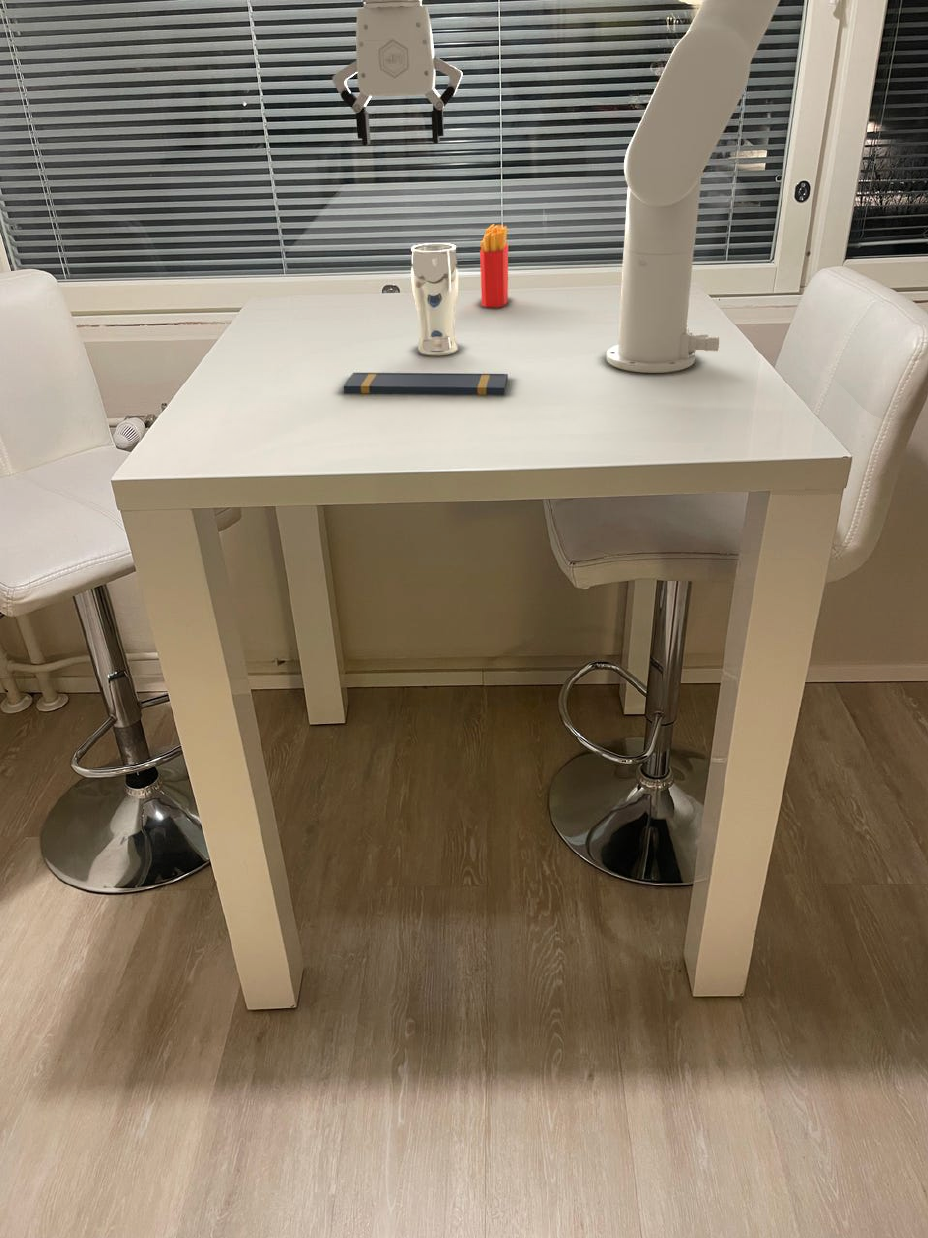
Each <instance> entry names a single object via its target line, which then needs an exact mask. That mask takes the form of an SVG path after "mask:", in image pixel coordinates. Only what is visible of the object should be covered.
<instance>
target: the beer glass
mask: <svg viewBox="0 0 928 1238" xmlns="http://www.w3.org/2000/svg"><path fill="white" fill-rule="evenodd" d="M410 250H411V255H410V256H411V257H410V258H411V259H410V264H411V265H410V276H411V290H412V294H413V299H414V304H415V309H416V313H417V318H418V323H419V338H418V347H417V349H418V350H417V351H418V352H419V353H420V354H422V355H425V356H435V357H436V356H447V355H451V354H454V353H456V352H457V351H458V349H459V346H458V342H457V341H458V340H457V337H456V336H457V335H456V331H455V329H456V328H455V319H456V309H457V303H458V302H457V301H458V294H459V265H458V256H457V255H458V254H457V246H456V245H454V244H451V243H443V242H442V243H439V242H438V243H437V242H436V243H432V242H431V243H423V244H418V245H413V246H412V247H411V248H410Z"/></svg>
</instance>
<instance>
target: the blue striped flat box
mask: <svg viewBox="0 0 928 1238" xmlns="http://www.w3.org/2000/svg"><path fill="white" fill-rule="evenodd" d="M508 381H509V374H508V373H466V372H465V373H463V372H461V373H460V372H459V373H457V372H455V373H453V372H451V373H449V372H442V373H441V372H352V373H351V375H350V376H349V377H348V379H347V380H346V382H345V383H344V385H343V393H344V394H400V395H401V394H405V395H407V394H409V395H411V394H413V395H415V394H416V395H480V396H481V395H483V396H484V395H485V396H486V395H491V396H493V395H495V396H496V395H497V396H499V395H500V396H501V395H502V396H504V395H505V393H506V389H507V385H508Z"/></svg>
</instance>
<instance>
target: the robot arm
mask: <svg viewBox="0 0 928 1238" xmlns="http://www.w3.org/2000/svg"><path fill="white" fill-rule="evenodd" d="M361 2H362V4H363V8H357V12H356V29H355V30H356V31H355V37H356V38H355V45H356V46H355V47H356V49H355V52H356V60H354V61H353V62H352V63H350V64H348V65H347V66H345V67H344V68H343V69H340V71H338V72H337V73H335V74H333V76H332V77H331V80H332V83H333V84H334V87H335V88H336V90H337V92H338V93H339V95H340V97H341V99H342V100H343V102H345V103H346V105H348V106H349V107H350V109H351V110H352V111H353V112H354V113H355V122H356V132H357V133H356V134H357V135H356V136H357V139H358V140H361V143H362V147H367V146H369V145H370V144H371V128H370V115H369V112H368V111H367V105H368V103H369V101H370V100H371V99H372V97H405V96H421V95H425V97H426V98H427V99H428V101H429V102H430V103H431V104H432V110H431V112H430V116H431V135H432V143H433V144H434V145H437V144H439V143H440V137H444V136H445V128H444V127H445V126H444V109H445V106H447V104H448V103H449V102H450V101H451V99H453V97H454V96H455V94H456V92H457V89H458V87H459V85H460V82H461V80H462V77H463V72H462V70H460V69H459V68H457V67H455V66H453V65H451V64H449V63H448V62H446V61H444V60H442V59H441V58H439V57H437V56H435V48H434V39H433V31H432V24H431V17H430V13H429V8H428V6H427V5H423V0H361ZM780 2H781V0H702V1H701V4H700V6H699V8H698V10H697V12H696V14H695V16H694V18H693V20H692V21H691V24H690V26H689V28H688V30H687V32H686V34H684V35H683V37H682V38H680V40H679V41H678V42H677V44H676V45H675V46H674V48H673V51H671V54H670V56H669V58H668V61H667V63H666V65H665V66H664V69H663V71H662V73H661V77H660V78H659V80H658V82H657V85H656V87H655V89H654V91H653V93H652V95H651V96H650V97H651V98H650V100H649V102H648V104H647V106H646V109H645V110H644V113H643V115H642V117H641V119H640V121H639V123H638V126H637V128H636V130H635V132H634V134H633V137H632V138H631V141H630V142H629V145H628V147H627V148H626V149H627V150H626V153H625V156H624V162H623V173H624V178H625V182H626V185H627V195H626V209H625V225H624V237H623V238H624V240H623V252H622V253H623V254H622V268H621V269H622V270H621V287H620V288H621V290H620V305H619V321H618V322H619V323H618V340H617V341H618V342H617V343H618V344H616V345H614V346H612V347H610V348H609V349H608V350H607V352H606V361H607V363H608V364H610V365H611V366H612V367H615V368H617V369H620V370H623V371H628V372H634V373H645V374H663V373H672V372H673V373H674V372H679V371H682V370H685V369H688V368H689V367H691V366H693V364H695V360H696V351H704V352H718V351H719V347H720V337H719V336H709V334H705V333H704V334H703V333H701V334H693V333H692V332H690V330H689V325H688V319H689V318H688V316H689V307H690V296H691V287H692V286H691V285H692V284H691V283H692V273H693V265H694V264H693V262H694V255H695V254H694V253H695V247H696V237H697V236H696V235H697V225H698V215H699V204H700V195H701V183H702V177H703V176H702V175H703V172H704V169H705V168H706V166H707V164H708V162H709V161H710V159H711V158H712V155H713V153H714V151H715V149H716V147H717V145H718V144H719V141H720V139H721V138H722V135H723V134H724V131H725V130H726V127H727V126H728V124H729V122H730V120H731V118H732V116H733V114H734V112H735V110H736V108H737V106H738V104H739V102H740V100H741V98H742V96H743V93H744V91H745V89H746V86H747V85H748V81H749V78H750V73H751V64H752V60H753V58H754V56H755V54H756V52H757V50H758V48H759V45H760V43H762V39H763V38H764V36H765V34H766V31H767V30H768V28H769V26H770V24H771V21H772V18H773V17H774V15H775V13H776V10H777V8H778V6H779V4H780ZM436 71H438V72H440V73H442V74H443V75H446V76H447V77H448V78H449V82H448V84H447V87H446V89H444V91H443V92H442V94H439V92H438V91H437V90H436V78H437V76H436V75H437V74H436V73H437V72H436ZM356 74H357V75H356ZM354 75H356V76H357V84H358V90H359V92H360V93H359V95H358V96H356V95H354V93H353V92H352V91H351V90H350V89H349V87H348V84H347V80H349V79H350V78H352V77H353V76H354Z"/></svg>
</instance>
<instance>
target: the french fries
mask: <svg viewBox="0 0 928 1238" xmlns="http://www.w3.org/2000/svg"><path fill="white" fill-rule="evenodd" d="M507 235H508V227H507V225H505V226H504V225H503V224H498V225H495V223H493V224H492V225H490V226H489V227H488V228H487V229H485V234H484V236H483V239H482V240H481V241H480V249H479V263H480V288H481V290H480V291H481V306H482V307H484V308H501V307H504V306H505V305H506V304H507V303H508V300H509V243H507Z"/></svg>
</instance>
